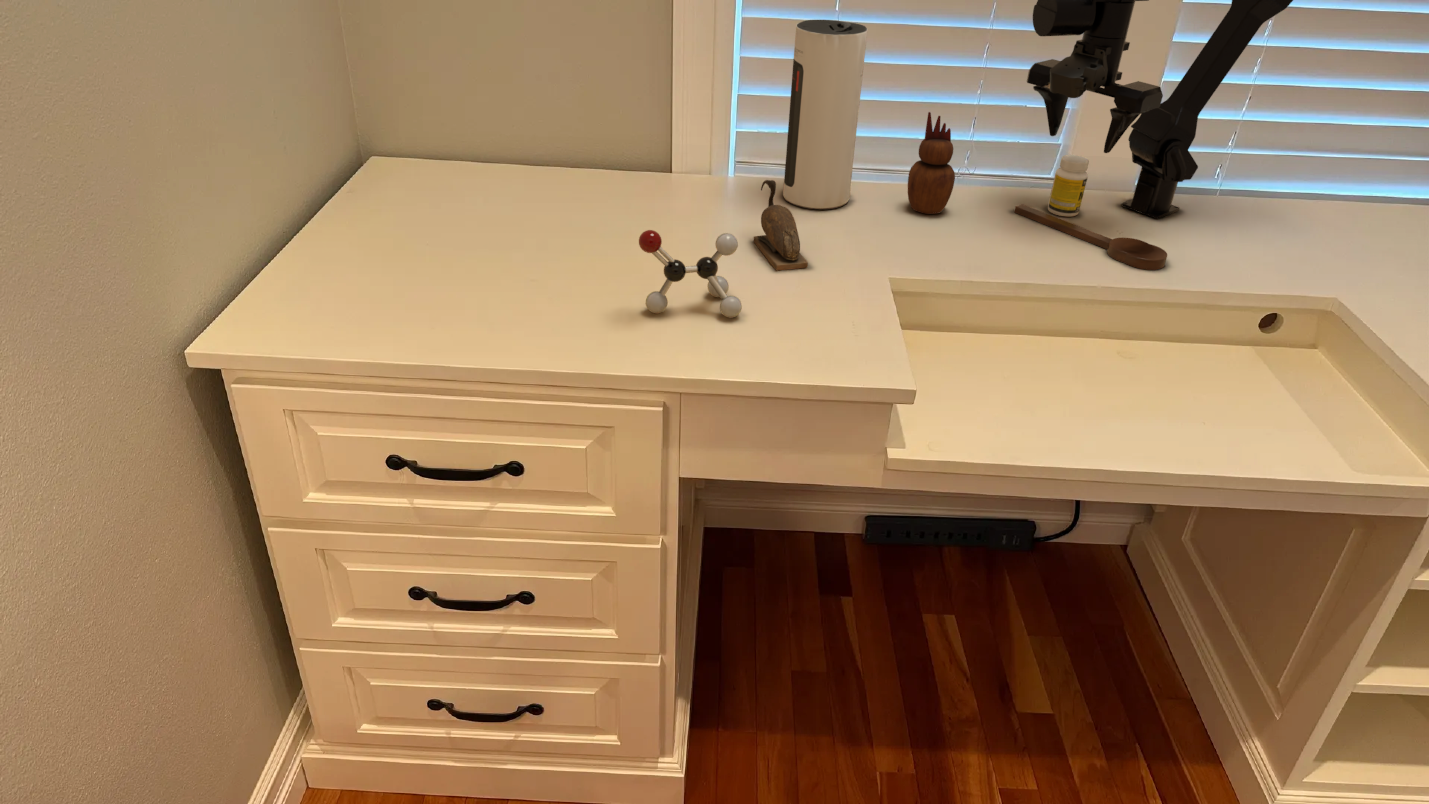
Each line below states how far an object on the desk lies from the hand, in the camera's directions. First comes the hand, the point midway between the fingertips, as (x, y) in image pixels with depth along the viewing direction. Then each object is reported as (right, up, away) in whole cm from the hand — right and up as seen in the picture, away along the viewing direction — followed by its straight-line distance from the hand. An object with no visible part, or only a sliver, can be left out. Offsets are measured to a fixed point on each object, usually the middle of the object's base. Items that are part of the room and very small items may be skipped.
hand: (1079, 143), depth 146 cm
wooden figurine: (-21, -9, +6) cm, 24 cm away
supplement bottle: (0, -9, +7) cm, 11 cm away
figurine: (-46, -17, -8) cm, 49 cm away
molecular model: (-57, -27, -25) cm, 68 cm away
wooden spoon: (0, -14, -1) cm, 14 cm away
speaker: (-38, -6, +8) cm, 40 cm away
